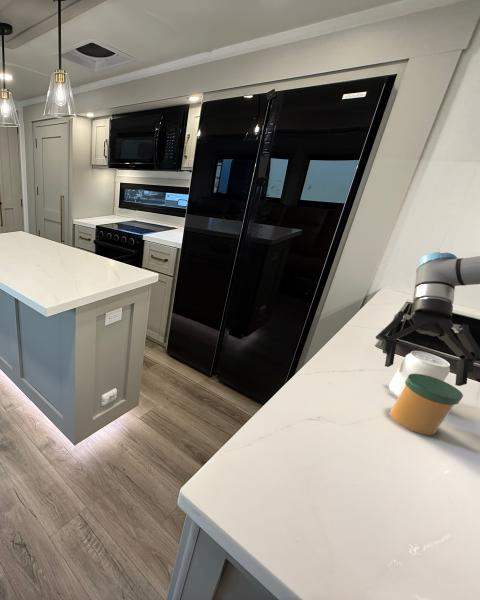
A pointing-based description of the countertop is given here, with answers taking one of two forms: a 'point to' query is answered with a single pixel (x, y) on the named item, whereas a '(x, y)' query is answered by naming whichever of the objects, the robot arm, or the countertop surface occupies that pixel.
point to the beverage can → (419, 369)
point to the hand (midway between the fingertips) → (423, 374)
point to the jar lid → (433, 389)
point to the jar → (419, 412)
